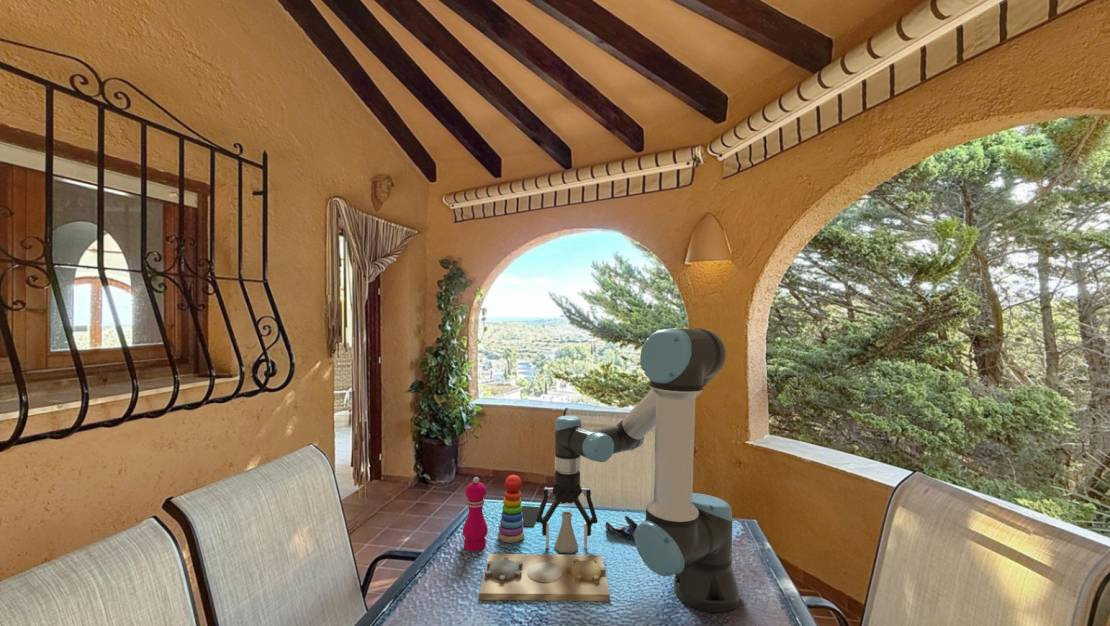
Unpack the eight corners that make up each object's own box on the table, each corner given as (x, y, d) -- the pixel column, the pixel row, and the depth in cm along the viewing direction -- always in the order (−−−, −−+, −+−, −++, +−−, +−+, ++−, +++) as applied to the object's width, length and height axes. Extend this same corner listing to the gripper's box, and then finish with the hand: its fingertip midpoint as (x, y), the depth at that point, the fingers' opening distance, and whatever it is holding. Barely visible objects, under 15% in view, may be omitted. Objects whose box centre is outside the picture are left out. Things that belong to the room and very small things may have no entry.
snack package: (624, 523, 149) (598, 532, 142) (627, 505, 149) (601, 513, 142) (652, 544, 140) (625, 554, 133) (655, 525, 139) (629, 534, 132)
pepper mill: (490, 549, 130) (491, 479, 131) (464, 554, 128) (466, 482, 128) (484, 538, 137) (485, 471, 137) (460, 542, 134) (461, 474, 135)
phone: (510, 524, 146) (521, 505, 161) (510, 527, 146) (521, 507, 161) (533, 526, 145) (542, 507, 159) (533, 529, 145) (542, 509, 159)
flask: (550, 543, 135) (551, 509, 135) (573, 540, 137) (574, 507, 137) (558, 555, 128) (558, 520, 128) (582, 552, 130) (582, 517, 130)
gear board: (601, 560, 125) (601, 550, 125) (609, 601, 107) (609, 589, 107) (489, 559, 125) (489, 549, 125) (478, 599, 107) (478, 588, 107)
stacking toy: (520, 545, 133) (521, 481, 133) (494, 542, 135) (495, 479, 135) (527, 533, 141) (528, 472, 141) (502, 530, 142) (503, 470, 143)
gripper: (605, 466, 137) (604, 540, 136) (528, 465, 136) (527, 539, 136) (608, 474, 129) (607, 553, 129) (527, 473, 129) (526, 552, 129)
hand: (566, 546), depth 132 cm, fingers open, 10 cm apart
